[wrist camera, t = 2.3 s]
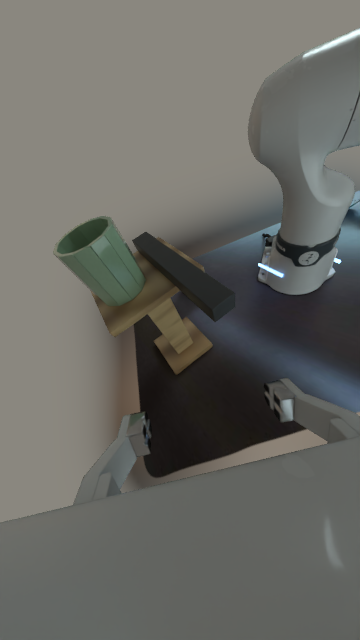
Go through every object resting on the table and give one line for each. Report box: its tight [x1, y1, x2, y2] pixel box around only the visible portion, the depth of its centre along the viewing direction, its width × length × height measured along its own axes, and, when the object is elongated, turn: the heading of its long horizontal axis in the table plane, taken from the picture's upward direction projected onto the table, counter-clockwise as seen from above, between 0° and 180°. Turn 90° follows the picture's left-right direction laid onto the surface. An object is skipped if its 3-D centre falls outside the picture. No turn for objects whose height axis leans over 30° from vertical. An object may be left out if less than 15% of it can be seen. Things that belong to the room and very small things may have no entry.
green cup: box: [53, 216, 146, 306], centre depth 24 cm, size 8×8×9 cm
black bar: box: [132, 232, 235, 322], centre depth 25 cm, size 22×3×2 cm, turn 34°
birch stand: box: [90, 237, 213, 375], centre depth 39 cm, size 14×16×26 cm
